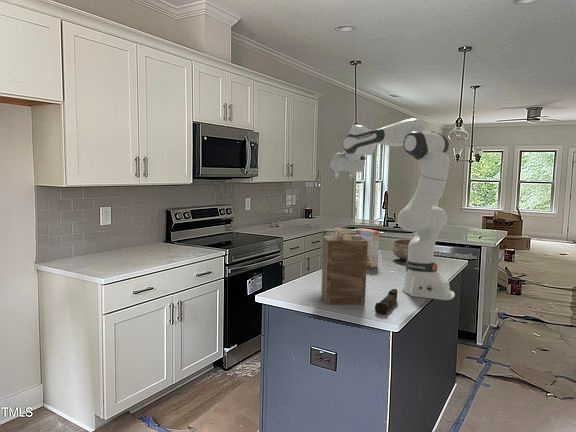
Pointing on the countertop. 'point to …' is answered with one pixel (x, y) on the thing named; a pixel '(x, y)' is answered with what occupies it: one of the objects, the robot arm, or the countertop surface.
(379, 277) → the countertop surface
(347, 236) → the oak slat
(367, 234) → the cracker box
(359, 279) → the wooden shelf
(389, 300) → the hand tool
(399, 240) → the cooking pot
